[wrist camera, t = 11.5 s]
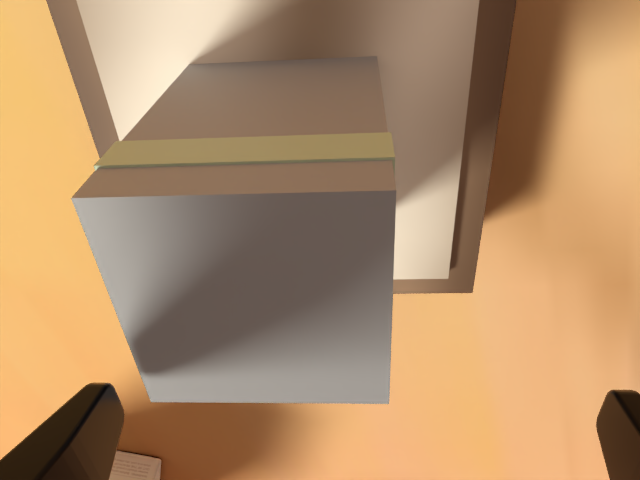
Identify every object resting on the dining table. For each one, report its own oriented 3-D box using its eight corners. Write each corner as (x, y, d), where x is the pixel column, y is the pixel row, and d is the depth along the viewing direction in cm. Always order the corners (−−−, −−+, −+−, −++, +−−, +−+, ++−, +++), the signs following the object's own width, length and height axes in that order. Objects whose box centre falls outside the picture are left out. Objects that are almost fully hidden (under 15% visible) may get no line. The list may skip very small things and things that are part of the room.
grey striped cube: (378, 54, 13) (399, 186, 7) (377, 219, 16) (391, 405, 10) (186, 62, 14) (66, 195, 8) (219, 222, 16) (149, 403, 11)
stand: (496, -117, 14) (539, -116, 11) (455, 235, 21) (474, 300, 18) (83, -89, 15) (9, -80, 12) (173, 240, 22) (143, 303, 19)
